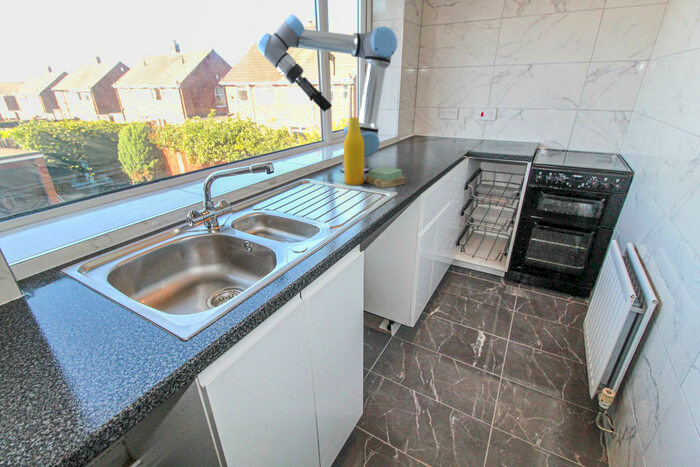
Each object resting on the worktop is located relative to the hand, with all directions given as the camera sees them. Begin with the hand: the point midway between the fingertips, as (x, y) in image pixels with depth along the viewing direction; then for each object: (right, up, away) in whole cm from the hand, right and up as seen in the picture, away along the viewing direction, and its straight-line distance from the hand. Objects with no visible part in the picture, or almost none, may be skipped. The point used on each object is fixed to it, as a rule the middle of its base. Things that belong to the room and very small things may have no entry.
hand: (328, 108), depth 141 cm
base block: (+26, -30, +12) cm, 41 cm away
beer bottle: (+11, -30, +13) cm, 35 cm away
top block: (+26, -27, +11) cm, 39 cm away
